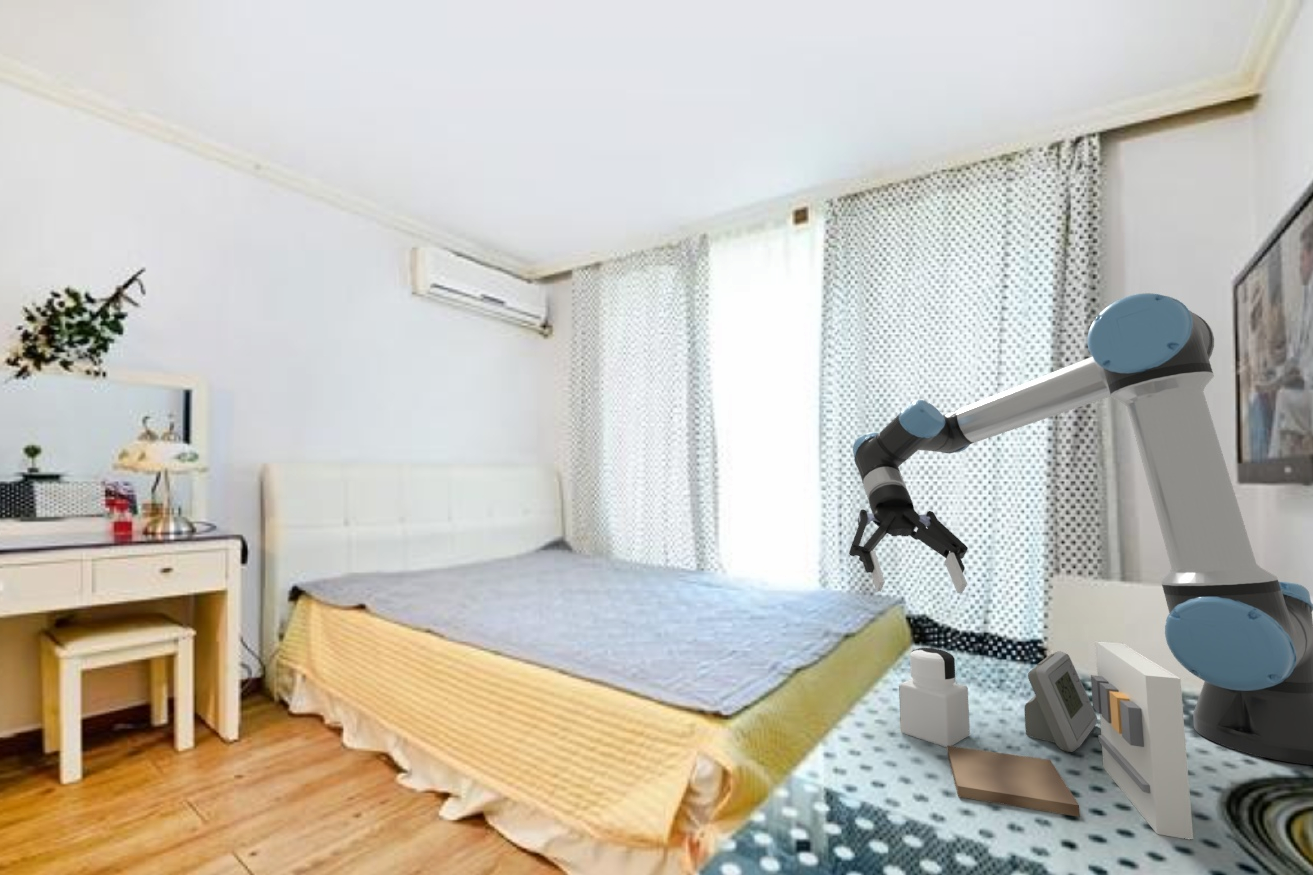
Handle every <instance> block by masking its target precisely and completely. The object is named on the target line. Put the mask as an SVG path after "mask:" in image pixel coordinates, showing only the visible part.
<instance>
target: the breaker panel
mask: <svg viewBox="0 0 1313 875" xmlns="http://www.w3.org/2000/svg"><path fill="white" fill-rule="evenodd" d="M1094 642H1095V643H1094V647H1095V659H1096V661H1095V662H1096V673H1097V674H1096V675H1092V674H1091V675H1090V684H1091V699H1092V701H1091V702H1092V707H1093V709H1094V711H1096V712H1097V713H1098V714H1099V720H1100V722H1099V723H1100V731H1101V732H1100V734H1098V736H1097V737H1098V742H1099V743H1100V744H1101V748H1102V749H1101V750H1102V764H1103V769H1104V771H1105V772H1106V773H1107V774H1108V775H1109V777H1110V778H1111V779H1112V781H1114V782H1113V783H1115V785H1117V787H1118V788H1119V789H1120V790H1121V792H1122V793H1123V794H1124V796H1125V797H1126V798H1127V799H1128V800H1129V802H1130V803H1131V804H1132V805H1133V807H1135V809H1136V810H1137V811H1138V812H1139V813H1140V815H1141V816H1142V817H1143V819H1144V820H1145V821H1146V822H1147V823H1148V825H1149V826H1150V827H1151V828H1152V830H1153V831H1154V832H1155V834H1156V835H1160V836H1167V837H1172V838H1179V839H1184V838H1185V840H1190V839H1193V840H1194V834H1193V832H1194V831H1193V822H1192V807H1191V805H1192V804H1191V794H1190V783H1189V771H1188V770H1189V769H1188V758H1187V755H1188V754H1187V744H1186V732H1185V731H1186V730H1185V719H1184V707H1183V706H1184V705H1183V694H1182V683H1181V682H1182V680H1181V677H1178V675H1176V674H1174V673H1172V672H1171V671H1169V670H1167V669H1165V668H1164V667H1162V666H1161V665H1159V664H1157V663H1156V662H1155V661H1152V660H1151V659H1150V658H1147V657H1146V656H1145V655H1142V654H1141V653H1140V652H1138V651H1136V650H1135V649H1133V648H1131V647H1129V646H1128V645H1127V644H1125V643H1123V642H1113V641H1111V642H1110V641H1097V640H1095V641H1094ZM1187 838H1189V839H1187Z"/></svg>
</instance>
